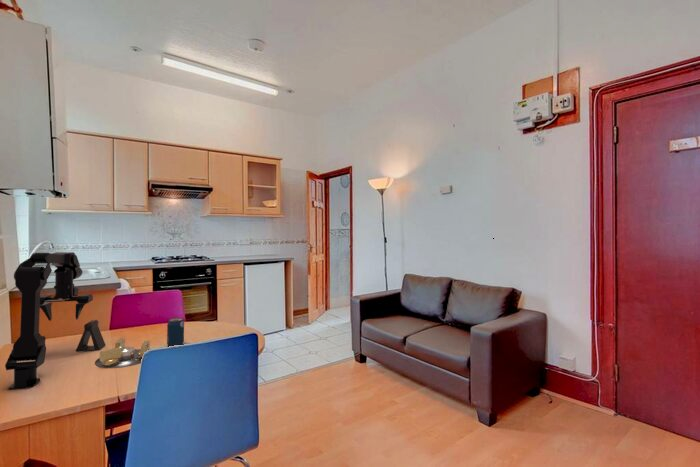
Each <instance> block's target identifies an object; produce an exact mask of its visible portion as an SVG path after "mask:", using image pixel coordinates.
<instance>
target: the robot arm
mask: <svg viewBox="0 0 700 467" xmlns="http://www.w3.org/2000/svg"><path fill="white" fill-rule="evenodd" d="M36 264H37V265H39V264H40V265H41V264H46V265H45V267H44V266H35V265H36ZM51 265H52V266H54V267H55V268H56V269H55V270H54V271H53V269H52V267H51ZM52 271H53V274H55V275H54V276H55V279H54V281H55V285H54V286H53V289H54V296H52V295H51V294H48V295H47V294H44V295H43V294H42V295H41V291H42V290H43V289H44V288H45V286H47V283H48V279H49V277H50V275H51V273H52ZM82 275H83V270H82V267H81V265H80V261H79V259H78V256H77V255H76V253H75V252H74V251H73V252H72V251H71V252H69V251H67V252H63V251H62V252H61V251H60V252H59V251H56V252H53V253H52V252H51V253H50V252H33V253H32V254H31V256H30V257H29V258H28V259H26V260H24V261H22V262H21V263H20V264H18V267H17V268H16V269H15V271H14V272H13V278H14V281H15V282H14V284H15V287H16V289H17V290H18V291H19V292H20V293H21V302H20V304H21V305H20V330H19V331H20V332H19V337H18V338H17V340H16V341H15V342H14V343H13V344H12V349H11V352H10V353H9V356H8V359H7V361H6V363H5V366H4V367H5V370H6V371H10V370H13V384H11V385H10V386H9V387H8V389H7V390H15V389H16V390H17V389H29V388H33V387H34V386H36V385H37V384H38V383H39V382H40V381H41V378H38V376H37V375H38V368H39V367H40V366H42V365H43V364H44V363H45V358H46V354H47V346H46V337H45V335H41V333H40V312H41V311H42V312H43V313H44V315H45V316H46V318H47V319H48V321H49V322H51V321H52V318H53V315H52V314H53V313H52V305H53V303H54V302H55V303H57V302H58V303H59V302H76V303H75V320H79V317H80V316H81V313H82V311H83V308H84V306H85V305H87V304H89V303H90V302H92V301H93V300H94V296H93V294H91V293H87V294H86V293H85V294H83V293H81V294H80V295H79V288H77V287H75V283H74V280H76V279H79V278H80V277H82ZM40 309H41V311H40Z"/></svg>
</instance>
